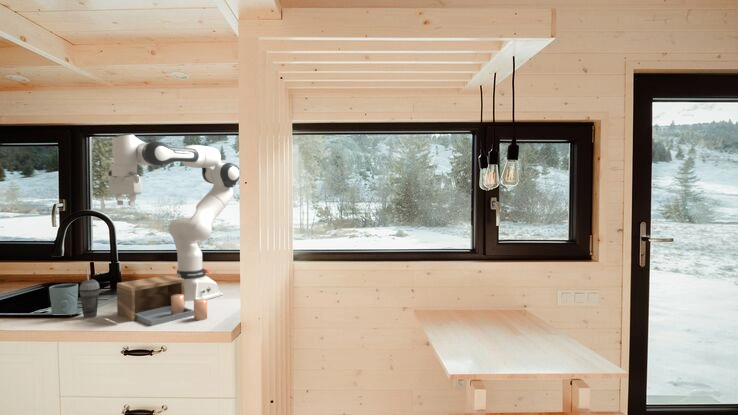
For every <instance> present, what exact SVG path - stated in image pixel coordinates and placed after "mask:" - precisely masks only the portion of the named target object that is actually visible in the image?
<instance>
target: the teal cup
mask: <svg viewBox="0 0 738 415" xmlns="http://www.w3.org/2000/svg"><path fill="white" fill-rule="evenodd" d="M48 290H49V291H48V292H49V299H50V308H51V315H52V314H70V313H74V312H77V313H78V299H79V298H78V296H79V284H78V283H61V284H55V285H51V286H49V287H48Z"/></svg>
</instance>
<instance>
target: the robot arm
mask: <svg viewBox="0 0 738 415" xmlns="http://www.w3.org/2000/svg"><path fill="white" fill-rule="evenodd" d="M112 157H113V163H112V168H111V169H109V171H107V177H109V178H108V188H109V189H108V190H109V193H110V194H111V195H115V196H114V197H115V200H116V204H117V206H123V205H124V200H123V198H122V197H123V195H128V196H129V200H128V206H135V205H136V204H135V201H136V199H137V195H142V193H143V187H142V178H141V177H140V175H139V174H138V165H139V166H163V165H165V164H168V163H170V162H180V163H182V164H183V165H184V166H185V167H188V168H195V169H201V174H202V178H203V180H204V181H205V182H207V183H209V184H213V185H212V188H211V189H210V190H209V191H208V192H207V193H206V195H204V197H203V198H202V199H200V201H199V202H198V203H197V204H196V207H195V209H196V210H195V212H194V214H192V216H190V217H179V218H175V219H173V220H172V221H171V222H170V223H169V225H168V232H169V235H170V236H171V237H172V239H173V243H174V245H175V250H176V253H177V255H176V256H177V270H176V277H179V278H183V279H184V302H190V301H192V302H194V300H197V299H207V300H210V299H213V298H217V297H220V296H224V292H223V291H222V290H219V287H218V283H217V282H216V281H215V280H213V279H212V278H211V277H209V276H207V275H206V274H210V272H211V270H210V269H208V268H206V269H205V268H203V252H202V250H201V248H200V247H199V245H198V243H199V242H204V241H207V240H209V238H210V237H211V235H212V233H213V232H212V231H213V228H212V226H213V224H214V221H215V220H216V219H217V217H218V216H219V215H220V214H221V213H222V212H223V210H224V209H225V208H227V207H228V205H229V202H231V199H232V198H233V196H234V190H233V187H235V186H236V185H237V182H238V181H239V179H240V177H239V169H240V167H239V166H238V165H237V164H234V163H232V162H222V160H221V157H222V155H221V151H219V150H218V149H217V148H215V147H212V146H207V145H200V144H189V145H184V146H183V147H176V146H170V145H168V144H166V143H163V142H161V141H158V140H157V141H152V142H145V141H143V140H141V139H139V138H138V137H136V135H134V133H133V134H132V133H125V134H117V135H115V136H114V137H113V140H112Z"/></svg>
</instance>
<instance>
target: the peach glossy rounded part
mask: <svg viewBox="0 0 738 415" xmlns="http://www.w3.org/2000/svg"><path fill="white" fill-rule="evenodd" d="M184 304H185V301H184V295H183V294H175V295H172V296H171V315H176V314H180V313H184Z"/></svg>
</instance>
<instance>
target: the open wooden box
mask: <svg viewBox="0 0 738 415" xmlns="http://www.w3.org/2000/svg"><path fill="white" fill-rule="evenodd" d="M175 294H183V295H184V279H183V278H179V277H177V276H176V275H171V274H167V275H162V276H161V275H160V276H153V277H149V278H140V279H135V280H130V281H123V282H122V281H121V282H117V283H116V306H117V308H116V310H117V314H116V316H118V317H120V318H123V319H125V320H126V321H127V320H128V321H130V322H135V321H136V320H135V313H139V312H143V311H148V310H153V309H157V308H162V307H166V306H171V296H172V295H175ZM185 304H186V303H184V307H186V306H185Z"/></svg>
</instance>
